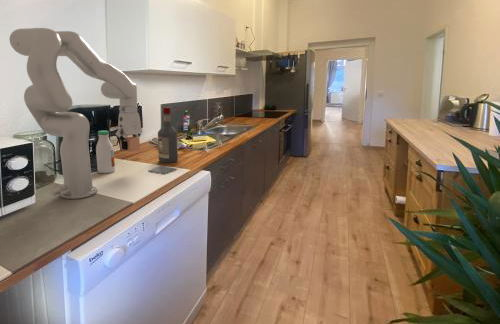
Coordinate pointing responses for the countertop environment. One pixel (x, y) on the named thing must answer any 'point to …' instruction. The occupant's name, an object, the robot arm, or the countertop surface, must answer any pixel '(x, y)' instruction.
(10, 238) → the countertop surface
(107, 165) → the milk bottle
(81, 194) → the robot arm
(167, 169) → the coaster
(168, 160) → the liquor
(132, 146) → the cube
